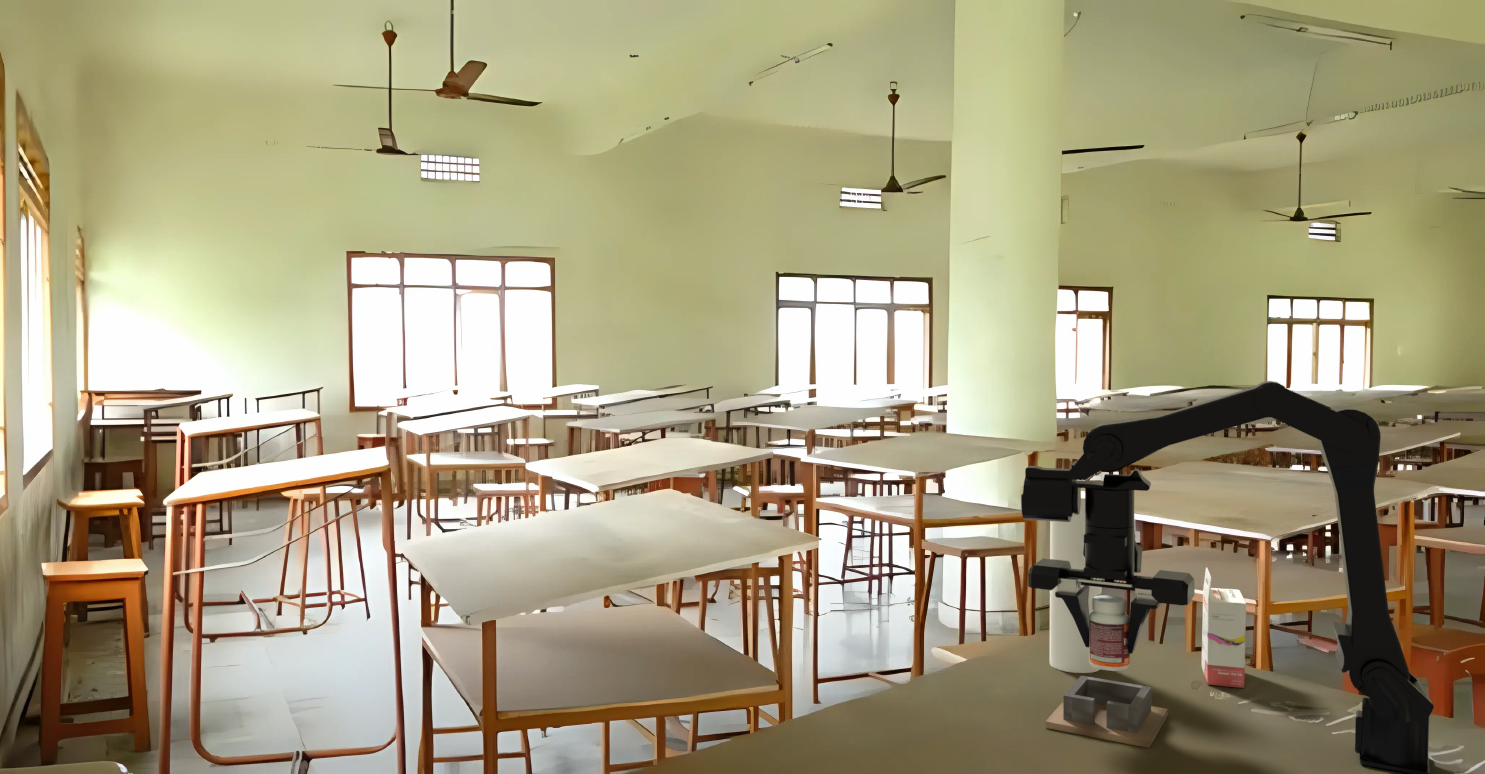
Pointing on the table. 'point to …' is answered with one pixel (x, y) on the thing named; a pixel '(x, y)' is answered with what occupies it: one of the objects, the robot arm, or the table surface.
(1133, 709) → the bottle holder
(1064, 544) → the cylindrical container
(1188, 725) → the table surface
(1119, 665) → the pill bottle
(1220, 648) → the white cardboard box
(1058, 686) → the table surface
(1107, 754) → the table surface
